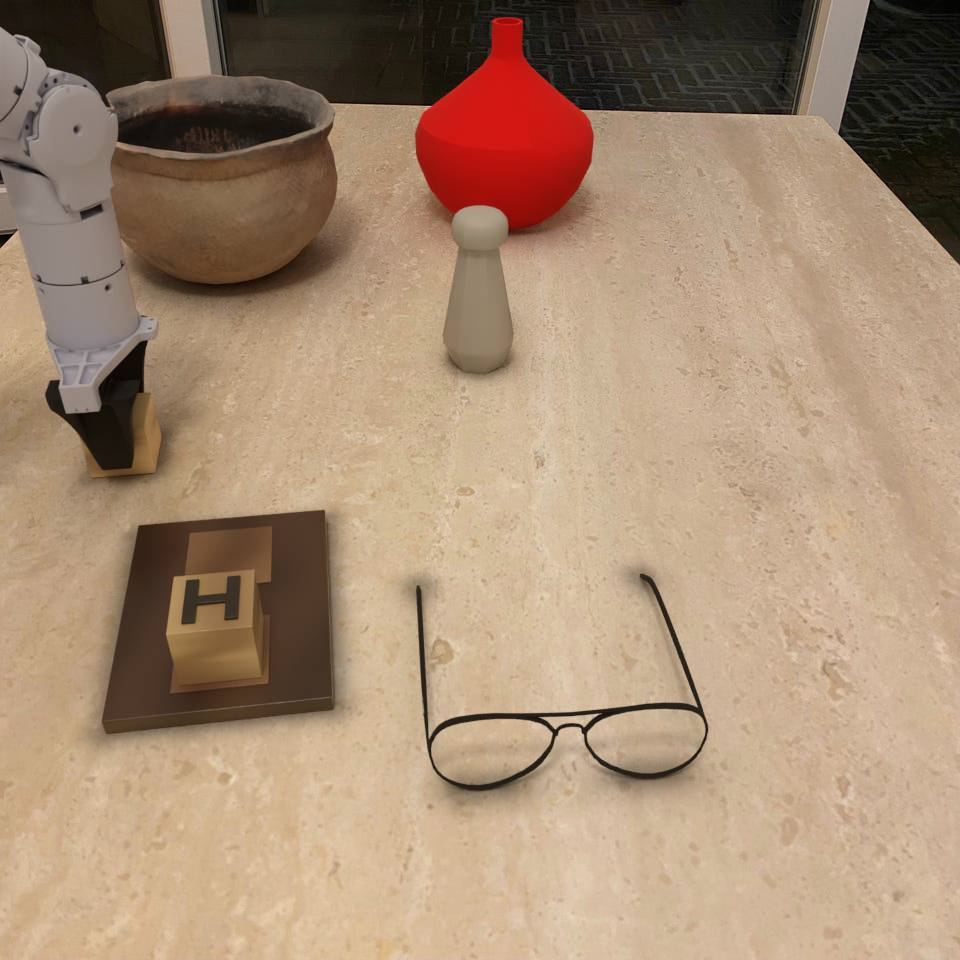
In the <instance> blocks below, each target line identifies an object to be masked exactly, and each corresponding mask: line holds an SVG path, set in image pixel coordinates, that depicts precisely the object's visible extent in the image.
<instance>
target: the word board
mask: <svg viewBox="0 0 960 960" xmlns="http://www.w3.org/2000/svg"><path fill="white" fill-rule="evenodd" d="M327 529H328V527H327V514H326V510H325V509H317V510H315V509H314V510H304V511H291V512H280V513H269V514H258V515H257V514H256V515H245V516H232V517H221V518H220V517H219V518H209V519H208V518H207V519H195V520H186V521H185V520H184V521H172V522H161V523H149V524H139V525H138V526H137V531H136V536H135V542H134V546H133V553H132V556H131V557H132V558H131V562H130V563H131V564H130V568H129V574H128V579H127V584H126V588H125V589H126V590H125V596H124V599H123V606H122V610H121V616H120V621H119V627H118V632H117V638H116V642H115V649H114V654H113V659H112V664H111V670H110V675H109V681H108V685H107V690H106V695H105V701H104V707H103V712H102V717H101V725H102V727H103V730H104V733H105V734H113V733H123V732H132V731H141V730H151V729H160V728H169V727H170V728H171V727H178V726H187V725H188V726H189V725H197V724H205V723H206V724H207V723H216V722H225V721H234V720H235V721H236V720H244V719H253V718H262V717H271V716H280V715H282V716H283V715H291V714H300V713H308V712H318V711H319V712H320V711H327V710H333V709H334V683H333V681H334V680H333V679H334V678H333V659H332V658H333V655H332V654H333V653H332V631H331V629H332V628H331V611H330V610H331V608H330V607H331V604H330V583H329V582H330V581H329V580H330V577H329V560H328V559H329V558H328V557H329V555H328V532H327V531H328V530H327ZM243 570H255V573H256V579H257V585H258V590H259V596H260V602H261V608H262V613H263V619H264V622H263V652H262V677H258V678H248V679H238V680H229V681H219V682H209V683H199V684H190V685H179V682H178V679H177V675H176V671H175V667H174V663H173V660H172V656H171V652H170V648H169V644H168V641H167V637H166V631H167V623H168V616H169V609H170V602H171V594H172V587H173V580H174V577H177V576H188V575H199V574H210V573H221V572H232V571H243Z"/></svg>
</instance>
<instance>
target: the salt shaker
mask: <svg viewBox="0 0 960 960" xmlns="http://www.w3.org/2000/svg"><path fill="white" fill-rule="evenodd" d="M453 215H454V214H453ZM450 228H451V230H450V231H451V237H452V240H453V241H454V243H455V244H456V245H457V246H458V251H457V256H456V259H455V260H456V261H455V266H454V271H453V275H452V277H453V278H452V281H451V282H452V283H451V288H450V293H449V298H448V303H447V308H446V315H445V318H444V325H443V331H442V341H443V344H444V346H445V348H446V350H447V352H448V355H449V357H450V358H451V360H452V362H453V363H454V364H455V365H456V366H457V367H458V368H459V369H460V370H462V372H464V373H472V374H473V373H475V374H483V375H484V374H488V373H491V372H492V371H494V370H497V369H499V368H501V367H502V366H503V364H504V363H505V360H506V358H507V356H508V355H509V352H510V350H511V348H512V345H513V342H514V341H513V340H514V337H515V331H514V326H513V320H512V319H513V318H512V315H511V309H510V302H509V297H508V292H507V286H506V280H505V274H504V269H503V263H502V258H501V257H502V256H501V251H500V247H502V246H503V245H505V244H506V242H507V238H508V234H509V230H508V220H507V217H506V216H505V215H504V214H503V213H502V212H501V211H500V210H499V209H496V208H494V207H490V206H484V205H481V206H470V207H465V208H463V209H461V210H460V211H458V212H457V213H456V214H455V215H454V216H453V218H452V221H451V226H450Z"/></svg>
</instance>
